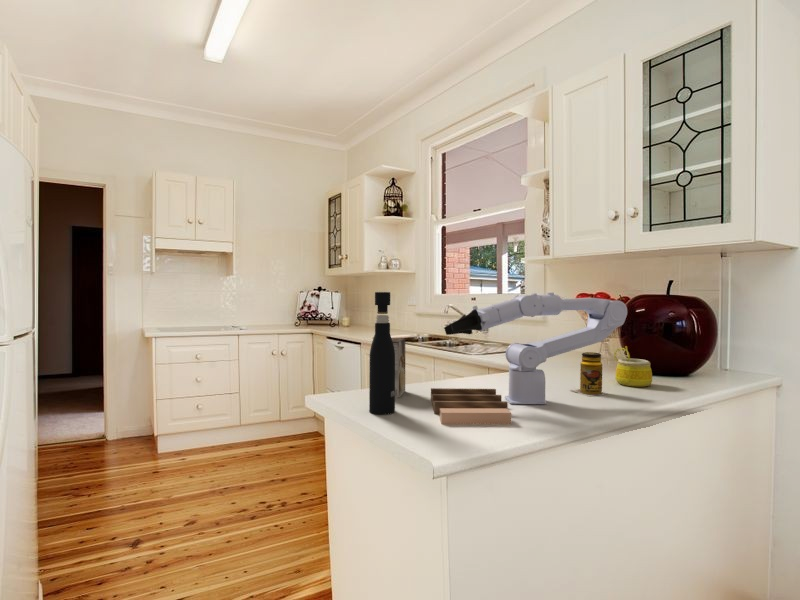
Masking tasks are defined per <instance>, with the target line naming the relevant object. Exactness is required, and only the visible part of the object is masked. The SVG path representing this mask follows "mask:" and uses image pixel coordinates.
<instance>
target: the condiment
mask: <svg viewBox="0 0 800 600" xmlns="http://www.w3.org/2000/svg"><path fill="white" fill-rule="evenodd" d="M579 373H580V374H579V375H580V377H579V378H580V379H579V380H580V381H579V382H580V383H579V385H580V387H579V388H580V389H579V388H578V389H570V390H569V391H572V392H576V393H578V394H581V395H584V396H587V397H588V396H589V397H595V396H605V395H609V393H608V392H607V393H606V392H604V391H603V362H602V354H601V353H599V352H594V351H593V352H592V351H591V352H590V351H589V352H588V351H587V352H582V353H581V362H580V372H579Z"/></svg>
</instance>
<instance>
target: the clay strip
mask: <svg viewBox="0 0 800 600" xmlns="http://www.w3.org/2000/svg"><path fill="white" fill-rule="evenodd" d="M439 422H440V424H441V425H512V412H511V411H510V410H509V409H505V408H440V414H439Z"/></svg>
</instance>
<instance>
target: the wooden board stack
mask: <svg viewBox="0 0 800 600" xmlns="http://www.w3.org/2000/svg"><path fill="white" fill-rule="evenodd" d="M430 401H431V405H432V408H433V409H432V410H433V413H434V415H440V408H505V409H508V407H509V405H508V402H509V401H508V400H506V401H505V400H504V401H502V394H497V389H496V388H452V387H451V388H450V387H449V388H442V387H441V388H438V387H437V388H435V387H433V388H430ZM508 410H509V409H508Z"/></svg>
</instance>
